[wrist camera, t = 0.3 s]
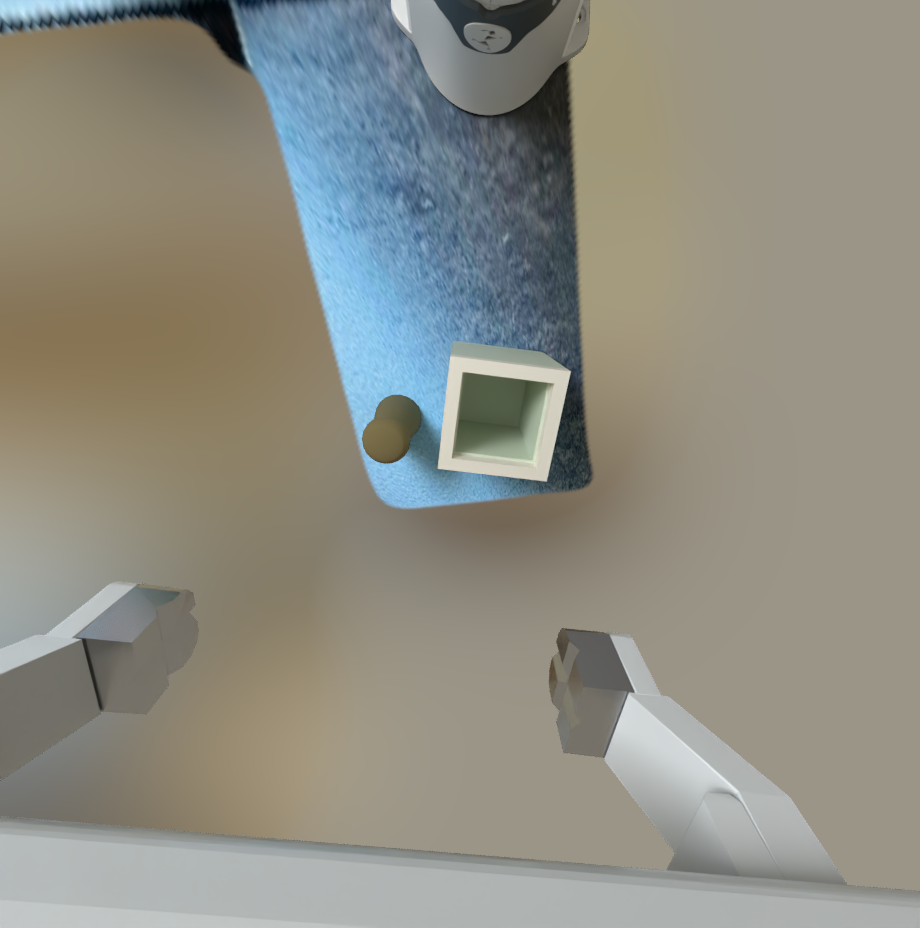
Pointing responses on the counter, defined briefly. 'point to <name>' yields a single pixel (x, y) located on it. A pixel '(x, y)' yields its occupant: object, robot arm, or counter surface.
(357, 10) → the counter surface
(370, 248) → the counter surface
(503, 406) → the open top box
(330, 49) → the counter surface
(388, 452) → the cork
